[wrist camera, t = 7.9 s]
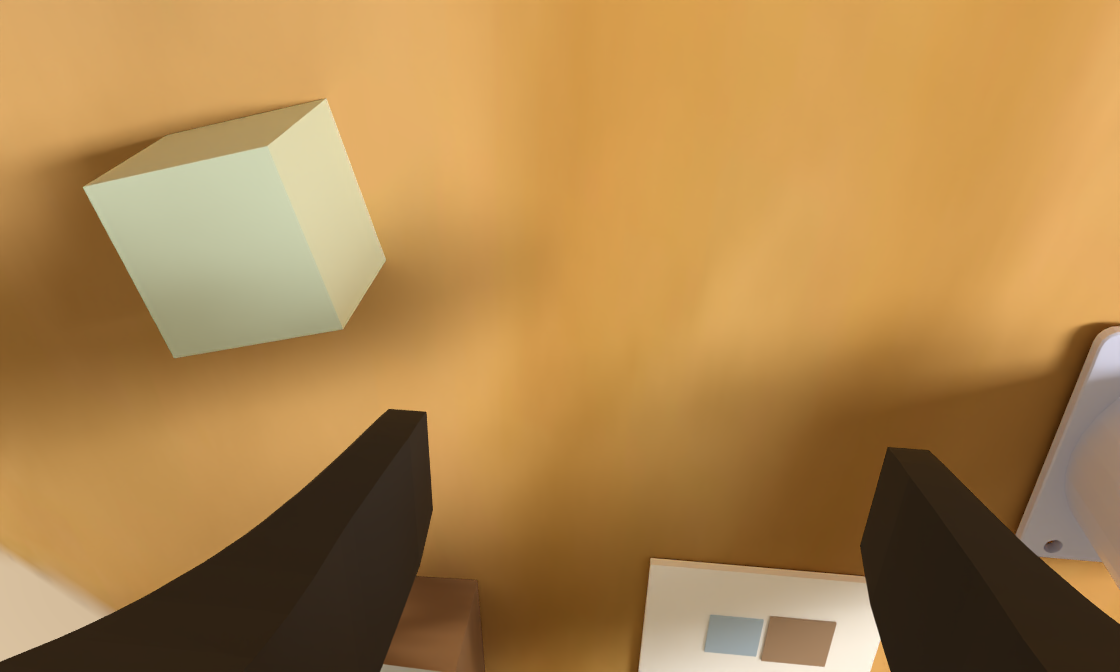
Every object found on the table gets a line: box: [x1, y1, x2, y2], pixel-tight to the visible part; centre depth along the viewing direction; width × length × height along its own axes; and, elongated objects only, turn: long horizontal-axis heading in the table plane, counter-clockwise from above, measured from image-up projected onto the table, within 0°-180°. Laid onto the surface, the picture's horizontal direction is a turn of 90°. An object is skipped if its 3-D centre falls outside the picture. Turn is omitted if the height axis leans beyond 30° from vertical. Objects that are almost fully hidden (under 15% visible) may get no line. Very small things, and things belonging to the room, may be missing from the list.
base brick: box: [383, 576, 485, 672], centre depth 30 cm, size 5×5×4 cm
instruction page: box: [638, 558, 880, 672], centre depth 30 cm, size 8×6×1 cm
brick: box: [83, 99, 386, 358], centre depth 21 cm, size 5×5×4 cm
